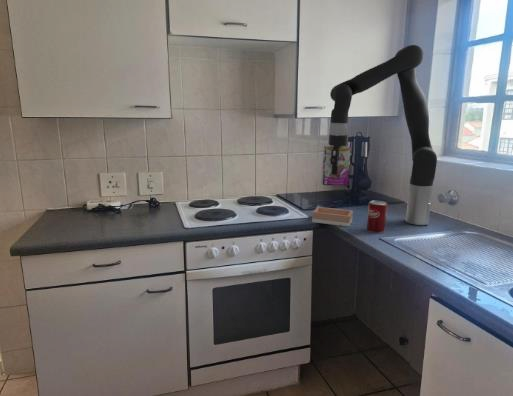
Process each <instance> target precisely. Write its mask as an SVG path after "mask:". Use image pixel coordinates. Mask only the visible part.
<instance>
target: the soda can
mask: <svg viewBox="0 0 513 396" xmlns="http://www.w3.org/2000/svg"><path fill="white" fill-rule="evenodd" d="M387 213H388V203H387V202H385V201H382V200H371V201H369V202H368V208H367V220H366V230H367V231H368V232H370V233H373V234H382V233H384V232H385V230H386V224H387Z"/></svg>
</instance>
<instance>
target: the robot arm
mask: <svg viewBox="0 0 513 396" xmlns="http://www.w3.org/2000/svg"><path fill="white" fill-rule="evenodd" d="M424 57H425V53H424V51H423V49H422V47H421V46H419V45H417V44H411V45H410V44H409V45H407V46H405V47H403V48H401V49H400V50H398V51H397V52H396V53H395V55H394V57H392V58H390V59H388V60H386V61H384V62H382V63H380V64H378V65H375V66H373V67H371V68H369V69H367V70H365V71H363V72H361V73H359V74H357V75H356V76H353V77H352V78H350V79H347V80H345V81H343V82H339V84H336V85H335V86H333V87H332V89H330V94H329V95H330V99H331V100H332V101H333V102H334V107H333V109H332V110H331V114H330V124H329V125H330V126H329V130H328V131H329V132H328V146H333V151H331V165H332V174H334V175H336V174H337V168H338V161H339V160H340V154H341V152H339V148H340V147H346V146H347V145H348V132H349V127H348V126H349V125H348V122H349V110H350V107H351V104H352V103H351V102H352V99H353V96H354V95H357V94H360V93H363V92H365V91H367V90H369V89H371V88H372V87H373V88H374V86H376V85H378V84H380V83H381V82H383V81H385V80H387V79H388V78H390V77H392V76H394V75H396V74H397V78H398V82H399V87H400V94H401V99H402V105H403V114H404V117H405V118H404V119H405V122H406V125H407V129H408V132H409V136H410V142H411V161H412V168H411V176H410V179H409V186H408V187H409V188H408V196H407V204H406V205H407V207H406V215H405V222H406V223H408V224H410V225H411V224H412V225H416V226H425V225H426V226H428V225H429V221H430V212H431V206H432V205H431V204H432V203H431V201H432V193H433V186H434V185H433V184H434V181H435V177H436V170H437V164H438V156H437V154H436V152H435V151H434V150H433V147H432V142H431V138H430V132H429V131H430V130H429V129H430V117H429V115H430V113H429V105H428V101H427V97H426V96H425V95H426V94H425V93H424V92H423V90H422V88H421V85H420V84H419V83H418V80H417V72H416V68H417V67H418V66H420V65H421V64H422V62H423V61H424ZM338 156H339V157H338ZM334 160H336V162H334Z"/></svg>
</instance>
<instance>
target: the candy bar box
mask: <svg viewBox="0 0 513 396" xmlns="http://www.w3.org/2000/svg"><path fill="white" fill-rule="evenodd" d="M333 147H334V146H333V145H328V146H325V145H324V147H323V155H322V156H323V157H322V168H321V169H322V170H321V184H322V185H323V186H341V187H342V186H347V187H348V186H349V180H350V179H349V178H350V170H351V169H350V168H351V158H352V157H351V156H352V147H349V146H341V147H340V148H339V152H341V154H340V160H339V161H338V168H337V174H336V175H334V174H332V165H331V151H333ZM338 157H339V156H338ZM334 162H336V160H334Z"/></svg>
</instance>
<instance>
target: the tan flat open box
mask: <svg viewBox="0 0 513 396" xmlns="http://www.w3.org/2000/svg"><path fill="white" fill-rule="evenodd" d="M353 213H354V211H353V210H350V209H343V208H342V209H341V208H331V207H325V206H323V207H322V206H316V208H314V209H313V211H312V216H311V222H312V223H315V224H316V223H317V224H318V223H319V224H324V225H325V224H326V225H331V226H340V225H341V226H343V227H348V226H349V227H350V225H351V224H350V223H352V222H353V215H354V214H353Z"/></svg>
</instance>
